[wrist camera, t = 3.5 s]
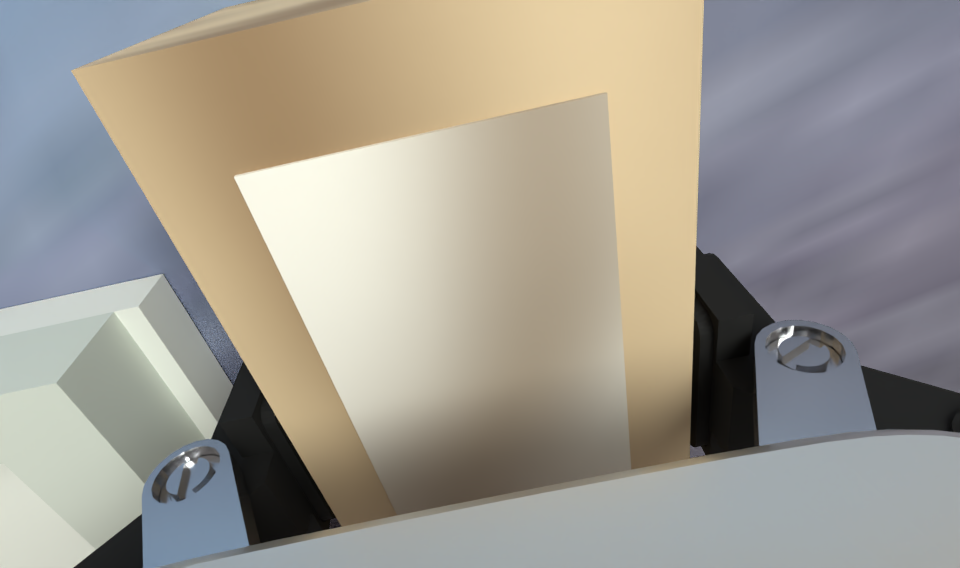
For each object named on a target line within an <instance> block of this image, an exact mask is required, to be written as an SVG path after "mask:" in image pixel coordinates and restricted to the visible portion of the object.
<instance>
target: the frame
mask: <svg viewBox="0 0 960 568" xmlns="http://www.w3.org/2000/svg"><path fill="white" fill-rule="evenodd" d="M703 9H704V0H256V1H251V2H247V3H243V4H239V5H235V6H230V7H226V8H223V9H221V10H219V11H216V12H214V13H211V14H209V15H206V16H204V17H201V18H199V19H196V20H194V21H192V22H189V23H187V24H184V25H182V26H179V27H177V28H174V29H172V30H170V31H167V32H165V33H162V34H160V35H157V36H155V37H152V38H150V39H148V40H145V41H143V42H140V43H138V44H135V45H133V46H130V47H128V48H125V49H123V50H121V51H118V52H116V53H113V54H111V55H108V56H106V57H103V58H101V59H99V60H96V61H94V62H91V63H89V64H86V65H84V66H81V67H79V68H76V69H74V70H72V73H73V74H74V76H75V78H76V80H77V81H78V83H79V85H80V86H81V88H82V90H83V91H84V93H85V95H86V96H87V98H88V100H89V101H90V103H91V105H92V107H93V108H94V110H95V112H96V113H97V115H98V117H99V118H100V120H101V122H102V123H103V125H104V127H105V128H106V130H107V132H108V133H109V135H110V137H111V139H112V140H113V142H114V144H115V145H116V147H117V149H118V150H119V152H120V154H121V155H122V157H123V159H124V160H125V162H126V164H127V166H128V167H129V169H130V171H131V172H132V174H133V176H134V177H135V179H136V181H137V182H138V184H139V186H140V187H141V189H142V191H143V193H144V194H145V196H146V198H147V199H148V201H149V203H150V204H151V206H152V208H153V209H154V211H155V213H156V214H157V216H158V218H159V220H160V221H161V223H162V225H163V226H164V228H165V230H166V231H167V233H168V235H169V236H170V238H171V240H172V241H173V243H174V245H175V246H176V248H177V250H178V252H179V253H180V255H181V257H182V258H183V260H184V262H185V263H186V265H187V267H188V268H189V270H190V272H191V273H192V275H193V277H194V279H195V280H196V282H197V284H198V285H199V287H200V289H201V290H202V292H203V294H204V295H205V297H206V299H207V300H208V302H209V304H210V306H211V307H212V309H213V311H214V312H215V314H216V316H217V317H218V319H219V321H220V322H221V324H222V326H223V327H224V329H225V331H226V333H227V334H228V336H229V338H230V339H231V341H232V343H233V344H234V346H235V348H236V349H237V351H238V353H239V354H240V356H241V358H242V359H243V361H244V363H245V365H246V366H247V368H248V370H249V371H250V373H251V375H252V376H253V378H254V380H255V381H256V383H257V385H258V386H259V388H260V390H261V392H262V393H263V395H264V397H265V398H266V400H267V402H268V403H269V405H270V407H271V408H272V410H273V412H274V413H275V415H276V417H277V419H278V420H279V422H280V424H281V425H282V427H283V429H284V430H285V432H286V434H287V435H288V437H289V439H290V440H291V442H292V444H293V446H294V447H295V449H296V451H297V452H298V454H299V456H300V457H301V459H302V461H303V462H304V464H305V466H306V467H307V469H308V471H309V473H310V474H311V476H312V478H313V479H314V481H315V483H316V484H317V486H318V488H319V489H320V491H321V493H322V494H323V496H324V498H325V499H326V501H327V503H328V505H329V506H330V508H331V510H332V511H333V513H334V515H335V516H336V518H337V520H338V521H339V523H340V525H341V526H342V527H343V526H348V525H353V524H357V523H362V522H367V521H372V520H377V519H382V518H387V517H392V516H397V515H402V514H407V513H412V512H417V511H422V510H427V509H432V508H437V507H442V506H447V505H452V504H457V503H463V502H468V501H473V500H478V499H483V498H488V497H493V496H498V495H503V494H508V493H513V492H518V491H524V490H529V489H534V488H539V487H544V486H549V485H554V484H559V483H564V482H570V481H575V480H580V479H585V478H590V477H596V476H601V475H606V474H611V473H617V472H622V471H627V470H632V469H638V468H643V467H648V466H653V465H658V464H664V463H669V462H674V461H679V460H685V459H690V427H691V395H692V363H693V331H694V299H695V267H696V235H697V202H698V170H699V138H700V106H701V74H702V42H703Z"/></svg>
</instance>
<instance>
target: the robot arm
mask: <svg viewBox="0 0 960 568" xmlns="http://www.w3.org/2000/svg"><path fill="white" fill-rule="evenodd" d="M690 444H691V445H692V446H693V447H698V446H701V447H702V449H703V451H704V453H705V455H706V456H700V457H695V458H690V459H685V460H679V461H674V462H669V463H664V464H658V465H653V466H648V467H643V468H638V469H632V470H627V471H622V472H617V473H611V474H606V475H601V476H596V477H590V478H585V479H580V480H575V481H570V482H564V483H559V484H554V485H549V486H544V487H539V488H534V489H529V490H524V491H518V492H513V493H508V494H503V495H498V496H493V497H488V498H483V499H478V500H473V501H468V502H463V503H457V504H452V505H447V506H442V507H437V508H432V509H427V510H422V511H417V512H412V513H407V514H402V515H397V516H392V517H387V518H382V519H377V520H372V521H367V522H362V523H357V524H353V525H348V526H343V527H338V528H333V529H329V525H330V519H333V518H336V516H335V515H334V513H333V511H332V510H331V508H330V506H329V505H328V503H327V501H326V499H325V498H324V496H323V494H322V493H321V491H320V489H319V488H318V486H317V484H316V483H315V481H314V479H313V478H312V476H311V474H310V473H309V471H308V469H307V467H306V466H305V464H304V462H303V461H302V459H301V457H300V456H299V454H298V452H297V451H296V449H295V447H294V446H293V444H292V442H291V440H290V439H289V437H288V435H287V434H286V432H285V430H284V429H283V427H282V425H281V424H280V422H279V420H278V419H277V417H276V415H275V413H274V412H273V410H272V408H271V407H270V405H269V403H268V402H267V400H266V398H265V397H264V395H263V393H262V392H261V390H260V388H259V386H258V385H257V383H256V381H255V380H254V378H253V376H252V375H251V373H250V371H249V370H248V368H247V366H246V365H245V363H244V361H243V364H242V366H241V368H240V371H239V373H238V376H237V378H236V380H235V383H234V385H233V388H232V390H231V392H230V395H229V397H228V399H227V402H226V404H225V407H224V409H223V411H222V414H221V416H220V419H219V421H218V423H217V426H216V428H215V431H214V433H213V435H212V438H211V439H205V440H200V441H195V442H193V443H190V444H188V445H185V446H183V447H181V448H180V449H178V450H176V451H175V452H173V453H171V454H170V455H169V456H168V457H166V458H165V459H164V460H163V461H162V462H161V463H159V464H158V466H157V467H156V468H155V469H154V470H153V472H152V473H151V474H150V475H149V477H148V479H147V481H146V483H145V485H144V487H143V492H142V514H141V515H140V516H138V517H137V518H136V519H134V520H133V521H132V522H131V523H129V524H128V525H127V526H126V527H124V528H123V529H122V530H120V531H119V532H118V533H117V534H115V535H114V536H113V537H112V538H110V539H109V540H108V541H106V542H105V543H104V544H103V545H101V546H100V547H99V548H98V549H96V550H95V551H94V552H92V553H91V554H90V555H89V556H87V557H86V558H85V559H84V560H82V561H81V562H80V563H78V564H77V565H76V566H75V567H73V568H960V393H957V392H953V391H949V390H946V389H942V388H939V387H935V386H932V385H928V384H925V383H921V382H917V381H914V380H910V379H907V378H903V377H900V376H896V375H893V374H889V373H886V372H882V371H878V370H875V369H871V368H868V367H864V366H861V365H860V361H859V357H858V353H857V351H856V349H855V347H854V345H853V343H852V342H851V341H850V340H849V339H848V338H847V337H845V336H844V335H843V334H842V333H840V332H838V331H836V330H834V329H833V328H831V327H828V326H825V325H822V324H819V323H816V322H810V321H803V320H785V321H781V322H776V323H775V321H774V320H773V319H772V318H771V317H770V316H769V315H768V313H767V312H766V311H765V310H764V309H763V308H762V307H761V306H760V304H759V303H758V302H757V301H756V300H755V299H754V298H753V297H752V295H751V294H750V293H749V292H748V291H747V290H746V289H745V288H744V286H743V285H742V284H741V283H740V282H739V281H738V280H737V279H736V277H735V276H734V275H733V274H732V273H731V272H730V271H729V269H728V268H727V267H726V266H725V265H724V264H723V263H722V262H721V260H720V259H719V258H718V257H717V256H715V255H714V254H711V253H708V254H703V253H702V252H701V251H700V250H699V248H698V247H697V246H696V267H695V299H694V331H693V363H692V395H691V427H690Z"/></svg>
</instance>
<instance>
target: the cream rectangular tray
mask: <svg viewBox="0 0 960 568" xmlns="http://www.w3.org/2000/svg"><path fill="white" fill-rule="evenodd" d="M232 388H233V385H232V383H231V382H230V380H229V379H228V377H227V375H226V374H225V372H224V371H223V369H222V367H221V366H220V364H219V363H218V361H217V360H216V358H215V356H214V355H213V353H212V352H211V350H210V348H209V347H208V345H207V344H206V342H205V340H204V339H203V337H202V336H201V334H200V332H199V331H198V329H197V328H196V326H195V324H194V323H193V321H192V320H191V318H190V316H189V315H188V313H187V312H186V310H185V308H184V307H183V305H182V304H181V302H180V301H179V299H178V297H177V296H176V294H175V293H174V291H173V289H172V288H171V286H170V285H169V283H168V281H167V280H166V278H165V277H164V275H163V274H160V275H156V276H151V277H146V278H142V279H137V280H133V281H128V282H123V283H119V284H114V285H110V286H105V287H100V288H96V289H91V290H87V291H82V292H77V293H73V294H68V295H64V296H59V297H54V298H50V299H45V300H41V301H36V302H31V303H27V304H22V305H18V306H13V307H8V308H4V309H0V568H73V567H75V566H76V565H77V564H78V563H80V562H81V561H82V560H84V559H85V558H86V557H87V556H89V555H90V554H91V553H92V552H94V551H95V550H96V549H98V548H99V547H100V546H101V545H103V544H104V543H105V542H106V541H108V540H109V539H110V538H112V537H113V536H114V535H115V534H117V533H118V532H119V531H120V530H122V529H123V528H124V527H126V526H127V525H128V524H129V523H131V522H132V521H133V520H134V519H136V518H137V517H138V516H140V515H141V514H142V492H143V487H144V485H145V483H146V481H147V479H148V477H149V475H150V474H151V473H152V472H153V470H154V469H155V468H156V467H157V466H158V464H159V463H161V462H162V461H163V460H164V459H165V458H166V457H168V456H169V455H170V454H171V453H173V452H175V451H176V450H178V449H180V448H181V447H183V446H185V445H188V444H190V443H193V442H195V441H200V440H205V439H211V438H212V435H213V433H214V431H215V428H216V426H217V423H218V421H219V419H220V416H221V414H222V411H223V409H224V407H225V404H226V402H227V399H228V397H229V395H230V392H231V390H232Z"/></svg>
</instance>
